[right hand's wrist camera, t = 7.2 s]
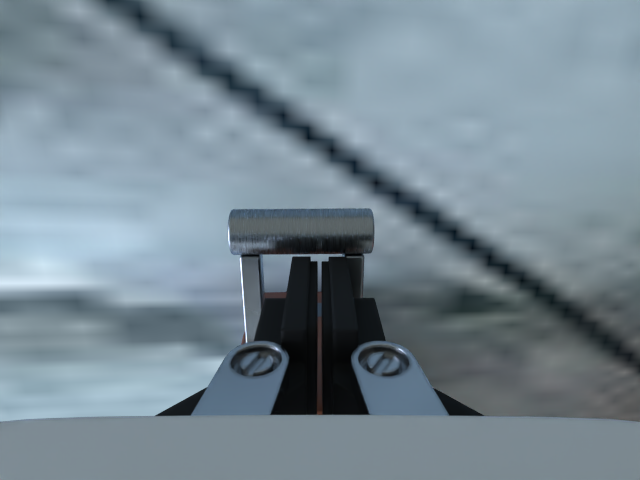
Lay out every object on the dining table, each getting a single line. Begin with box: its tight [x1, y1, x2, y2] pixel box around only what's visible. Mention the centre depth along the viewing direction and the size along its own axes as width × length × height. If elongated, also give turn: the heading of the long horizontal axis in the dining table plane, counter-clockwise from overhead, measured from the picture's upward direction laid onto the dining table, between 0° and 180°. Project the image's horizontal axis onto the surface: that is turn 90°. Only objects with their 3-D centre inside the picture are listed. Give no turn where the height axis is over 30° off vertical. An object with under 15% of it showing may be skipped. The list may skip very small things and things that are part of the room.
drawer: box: [228, 208, 374, 415], centre depth 17 cm, size 21×5×7 cm, turn 0°
